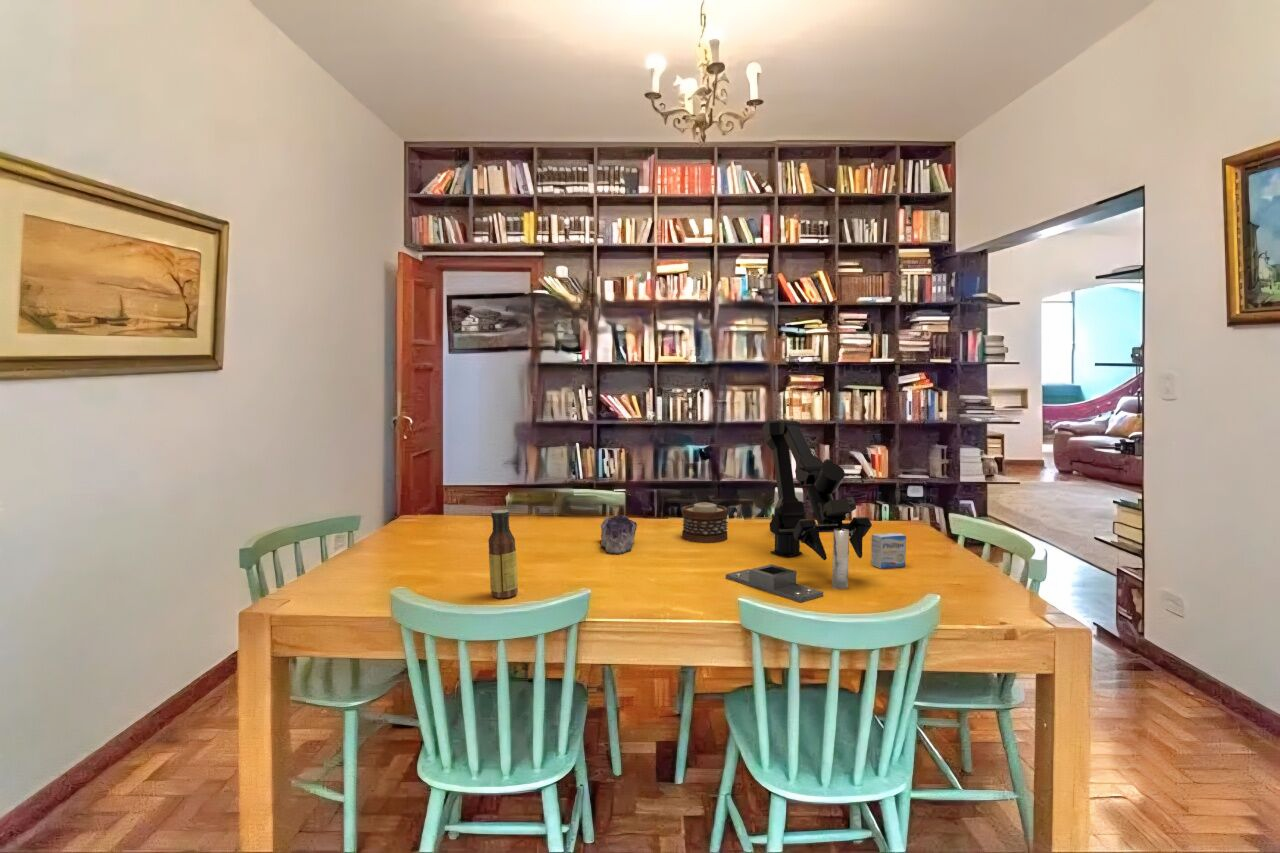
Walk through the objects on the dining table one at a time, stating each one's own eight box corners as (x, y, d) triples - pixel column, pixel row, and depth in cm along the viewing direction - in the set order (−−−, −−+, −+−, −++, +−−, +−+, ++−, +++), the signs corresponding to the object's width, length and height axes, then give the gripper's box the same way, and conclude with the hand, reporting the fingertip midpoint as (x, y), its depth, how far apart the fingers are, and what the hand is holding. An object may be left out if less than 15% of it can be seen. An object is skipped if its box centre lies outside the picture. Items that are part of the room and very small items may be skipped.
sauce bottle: (519, 591, 167) (518, 508, 166) (515, 599, 161) (514, 513, 159) (491, 591, 167) (490, 508, 165) (486, 599, 161) (485, 513, 159)
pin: (829, 586, 171) (830, 529, 170) (838, 583, 173) (839, 527, 172) (841, 590, 168) (843, 532, 167) (850, 587, 170) (852, 530, 169)
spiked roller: (732, 500, 226) (724, 509, 212) (732, 534, 227) (723, 545, 213) (687, 498, 231) (676, 506, 216) (687, 531, 232) (676, 541, 217)
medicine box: (880, 569, 186) (881, 537, 186) (870, 565, 191) (871, 533, 190) (905, 567, 189) (906, 535, 188) (895, 562, 193) (896, 531, 192)
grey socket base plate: (725, 578, 178) (725, 562, 178) (747, 572, 183) (748, 557, 182) (800, 602, 159) (800, 585, 159) (823, 595, 164) (823, 579, 163)
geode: (641, 555, 201) (636, 521, 200) (600, 561, 201) (596, 527, 200) (638, 536, 221) (634, 505, 220) (602, 541, 221) (597, 510, 220)
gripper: (798, 487, 171) (818, 542, 161) (869, 484, 175) (892, 538, 165) (785, 512, 179) (802, 567, 169) (852, 510, 183) (873, 563, 173)
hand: (843, 558), depth 169 cm, fingers open, 9 cm apart
